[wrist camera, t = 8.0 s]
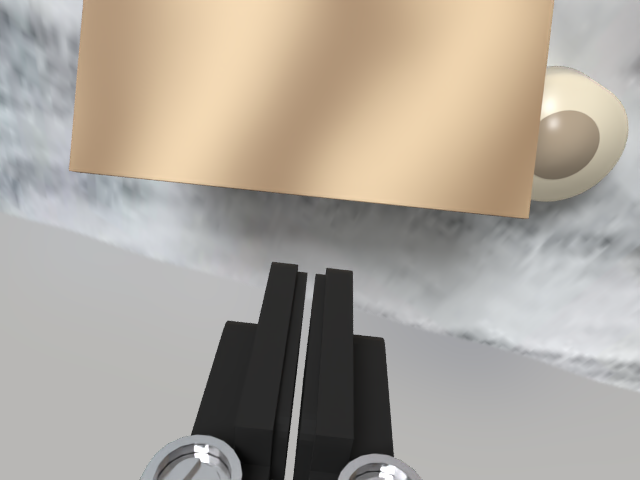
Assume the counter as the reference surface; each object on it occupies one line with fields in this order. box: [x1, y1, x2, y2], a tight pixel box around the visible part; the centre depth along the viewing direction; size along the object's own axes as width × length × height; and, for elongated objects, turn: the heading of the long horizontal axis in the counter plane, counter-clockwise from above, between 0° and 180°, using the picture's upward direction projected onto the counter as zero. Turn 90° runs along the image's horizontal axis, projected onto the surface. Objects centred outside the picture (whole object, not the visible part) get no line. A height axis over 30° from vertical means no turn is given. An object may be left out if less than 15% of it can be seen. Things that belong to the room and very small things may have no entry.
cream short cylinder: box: [531, 66, 628, 202], centre depth 23 cm, size 6×6×3 cm
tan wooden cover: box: [69, 0, 554, 219], centre depth 16 cm, size 14×8×1 cm
